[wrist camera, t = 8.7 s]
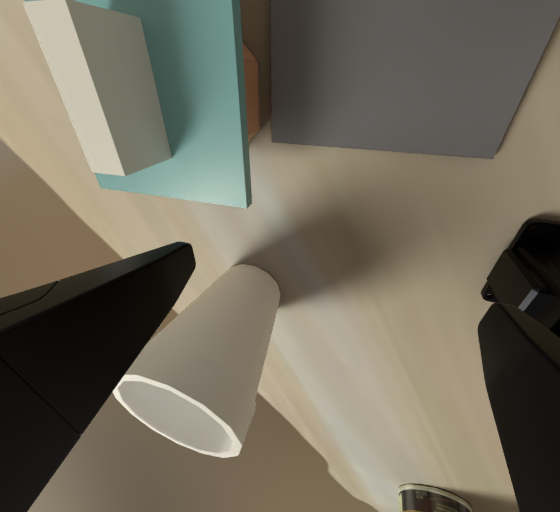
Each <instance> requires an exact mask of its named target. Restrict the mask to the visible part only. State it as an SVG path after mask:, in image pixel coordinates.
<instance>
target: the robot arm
mask: <svg viewBox="0 0 560 512" xmlns="http://www.w3.org/2000/svg"><path fill="white" fill-rule="evenodd" d="M533 226H537V227H536V228H535V229H533V230H530V228H531V227H533ZM195 266H196V262H195V257H194V253H193V248H192V246H191V244H189V243H185V242H175V243H172V244H169V245H166V246H163V247H160V248H157V249H154V250H151V251H148V252H144V253H141V254H138V255H135V256H132V257H129V258H126V259H123V260H120V261H117V262H114V263H111V264H107V265H104V266H101V267H98V268H95V269H92V270H89V271H86V272H83V273H80V274H77V275H73V276H70V277H67V278H64V279H61V280H60V281H55V282H52V283H49V284H46V285H42V286H39V287H36V288H33V289H29V290H26V291H24V292H20V293H17V294H13V295H10V296H6V297H3V298H0V512H27V511H28V510H29V508H30V507H31V506H32V504H33V503H34V501H35V500H36V499H37V497H38V496H39V494H40V493H41V492H42V490H43V489H44V487H45V486H46V484H47V483H48V482H49V480H50V479H51V478H52V476H53V475H54V473H55V472H56V470H57V469H58V468H59V466H60V465H61V464H62V462H63V461H64V459H65V458H66V457H67V455H68V454H69V452H70V451H71V449H72V448H73V446H74V445H75V444H76V442H77V441H78V440H79V438H80V437H81V434H83V432H84V431H85V430H86V428H87V427H88V425H89V424H90V423H91V421H92V420H93V418H94V417H95V416H96V414H97V413H98V411H99V410H100V408H101V407H102V406H103V404H104V403H105V401H106V400H107V398H108V397H109V396H110V394H111V393H112V392H113V390H114V389H115V388H116V386H117V385H118V383H119V382H120V381H121V379H122V378H123V376H124V375H125V373H126V372H127V371H128V369H129V368H130V366H131V365H132V364H133V362H134V361H135V359H136V358H137V357H138V355H139V354H140V352H141V351H142V350H143V348H144V347H145V345H146V344H147V343H148V341H149V340H150V338H151V337H152V336H153V334H154V333H155V331H156V330H157V329H158V327H159V326H160V324H161V323H162V322H163V320H164V319H165V317H166V316H167V314H168V313H169V312H170V310H171V309H172V307H173V306H174V304H175V303H176V301H177V300H178V298H179V296H180V294H181V293H182V291H183V289H184V287H185V285H186V284H187V282H188V280H189V278H190V277H191V275H192V273H193V271H194V269H195ZM487 280H488V281H487V283H486V284H485V286H484V287H483V289H482V291H481V295H482V297H483V299H484V300H486V301H490V302H495V303H494V304H492V305H491V306H490V308H489V309H488V311H487V312H486V314H485V315H484V317H483V318H482V320H481V321H480V323H479V325H478V337H479V344H480V351H481V358H482V365H483V372H484V378H485V384H486V389H487V393H488V397H489V400H490V404H491V408H492V411H493V415H494V419H495V422H496V426H497V430H498V433H499V437H500V441H501V445H502V448H503V452H504V456H505V459H506V463H507V467H508V470H509V474H510V478H511V481H512V485H513V489H514V492H515V496H516V500H517V503H518V507H519V511H520V512H560V222H557V221H548V220H540V219H531V220H528V221H526V222H525V223H524V224H523V225H522V226H521V228H520V230H519V231H518V233H517V234H516V236H515V238H514V239H513V241H512V242H511V244H510V246H509V247H508V248H507V249H506V250H504V251H503V253H502V254H501V256H500V258H499V259H498V261H497V263H496V264H495V266H494V267H493V269H492V271H491V272H490V274H489V276H488V277H487ZM490 293H493V294H491V295H488V294H490Z"/></svg>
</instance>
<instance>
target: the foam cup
mask: <svg viewBox="0 0 560 512" xmlns="http://www.w3.org/2000/svg"><path fill="white" fill-rule="evenodd" d="M280 296H281V294H280V290H279V287H278V284H277V283H276V282H275V280H274V279H273V278H272V277H271V276H270V275H269V274H268V273H267V272H265V271H263V270H261V269H260V268H258V267H256V266H251V265H245V264H241V265H237V266H233V267H231V268H230V269H229V270H227V271H226V272H225V273H224V274H223V275H222V276H221V277H220V278H219V279H218V280H216V281H215V282H214V283H213V284H212V285H211V286H210V287H209V288H208V289H207V290H205V291H204V292H203V293H202V294H201V295H200V296H199V297H198V298H197V299H196V300H194V301H193V302H192V303H191V304H190V305H189V306H188V307H187V308H186V309H185V310H184V311H182V312H181V313H180V314H179V315H178V316H177V317H176V318H175V319H174V320H173V321H172V322H171V323H169V324H168V325H167V326H166V327H165V328H164V329H163V330H162V331H160V332H159V333H158V334H157V335H156V336H155V337H154V338H153V339H152V340H151V341H150V342H148V343H147V344H146V345H145V347H144V348H143V350H142V351H141V352H140V354H139V355H138V357H137V358H136V359H135V361H134V362H133V364H132V365H131V366H130V368H129V369H128V371H127V372H126V373H125V375H124V376H123V378H122V379H121V381H120V382H119V383H118V385H117V386H116V388H115V389H114V390H113V393H114V395H115V398H116V399H117V400H118V401H119V402H120V403H121V404H122V405H123V406H124V407H125V408H126V409H127V410H128V411H129V412H130V413H131V414H132V415H133V416H135V417H136V418H137V419H139V420H140V421H141V422H143V423H144V424H146V425H147V426H148V427H150V428H151V429H152V430H154V431H156V432H158V433H159V434H161V435H163V436H165V437H167V438H169V439H170V440H172V441H174V442H176V443H177V444H180V445H182V446H185V447H187V448H190V449H192V450H195V451H198V452H200V453H202V454H208V455H212V456H217V457H222V458H226V457H232V456H238V455H239V453H240V450H241V447H242V444H243V442H244V439H245V436H246V433H247V431H248V428H249V425H250V423H251V420H252V417H253V414H254V411H255V408H256V404H255V402H254V401H255V397H256V393H257V389H258V385H259V381H260V377H261V373H262V369H263V365H264V361H265V357H266V353H267V349H268V345H269V341H270V337H271V333H272V329H273V325H274V321H275V317H276V313H277V309H278V305H279V301H280Z"/></svg>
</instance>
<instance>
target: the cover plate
mask: <svg viewBox="0 0 560 512" xmlns="http://www.w3.org/2000/svg"><path fill="white" fill-rule="evenodd" d="M23 5H24V7H25V10H26V12H27V15H28V17H29V20H30V22H31V24H32V27H33V29H34V32H35V34H36V37H37V39H38V41H39V44H40V46H41V49H42V51H43V54H44V56H45V58H46V61H47V63H48V66H49V68H50V71H51V73H52V76H53V78H54V80H55V83H56V85H57V88H58V90H59V93H60V95H61V97H62V100H63V102H64V105H65V107H66V110H67V112H68V115H69V117H70V119H71V122H72V124H73V127H74V129H75V132H76V134H77V136H78V139H79V141H80V144H81V146H82V149H83V151H84V154H85V156H86V158H87V161H88V163H89V166H90V168H91V171H92V172H94V173H95V175H96V177H97V180H98V182H99V185H100V187H101V188H105V189H113V190H120V191H127V192H134V193H141V194H148V195H155V196H162V197H169V198H176V199H183V200H191V201H198V202H205V203H212V204H219V205H226V206H233V207H240V208H248V207H249V206H250V205H251V204H252V195H251V178H250V161H249V144H248V128H247V111H246V94H245V77H244V61H243V44H242V27H241V11H240V0H25V2H23Z"/></svg>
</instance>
